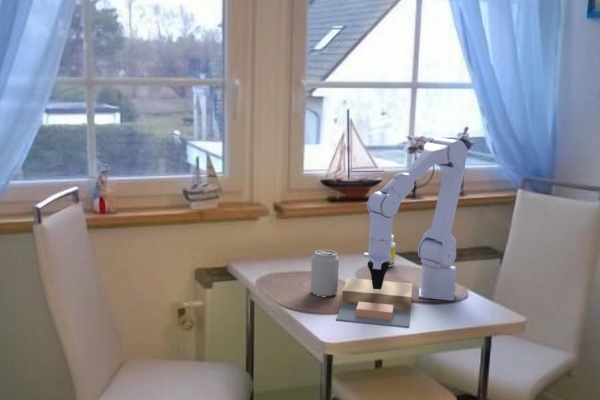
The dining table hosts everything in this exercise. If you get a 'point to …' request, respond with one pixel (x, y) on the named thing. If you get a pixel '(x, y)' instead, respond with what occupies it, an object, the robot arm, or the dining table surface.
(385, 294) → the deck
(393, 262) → the supplement bottle
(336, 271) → the can
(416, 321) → the dining table surface
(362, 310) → the pink rectangular block
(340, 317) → the mat
